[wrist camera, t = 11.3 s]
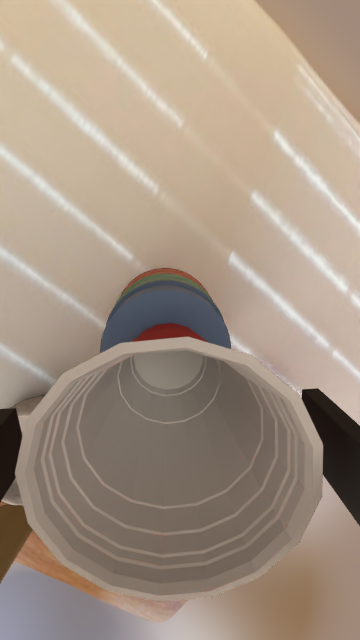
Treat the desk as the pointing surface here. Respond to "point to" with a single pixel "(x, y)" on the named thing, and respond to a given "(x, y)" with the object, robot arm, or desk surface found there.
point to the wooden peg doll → (12, 535)
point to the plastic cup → (170, 467)
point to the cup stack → (164, 308)
